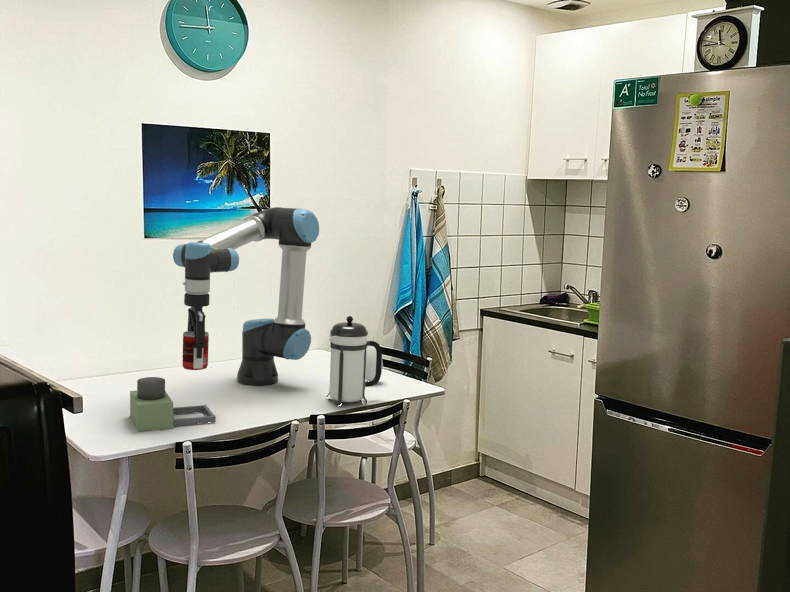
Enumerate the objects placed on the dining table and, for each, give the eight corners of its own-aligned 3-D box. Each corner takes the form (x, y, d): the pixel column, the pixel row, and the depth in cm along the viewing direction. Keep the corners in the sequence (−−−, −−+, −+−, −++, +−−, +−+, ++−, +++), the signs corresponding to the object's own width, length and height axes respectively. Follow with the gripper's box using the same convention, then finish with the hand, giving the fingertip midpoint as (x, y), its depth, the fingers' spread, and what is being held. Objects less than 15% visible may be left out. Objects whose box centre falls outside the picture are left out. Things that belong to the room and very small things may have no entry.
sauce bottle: (381, 385, 289) (383, 338, 286) (360, 384, 289) (362, 337, 286) (382, 380, 296) (384, 334, 294) (362, 379, 297) (364, 333, 294)
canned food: (210, 365, 245) (210, 331, 243) (205, 370, 237) (205, 335, 235) (185, 364, 244) (186, 329, 243) (179, 369, 236) (180, 334, 235)
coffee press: (359, 411, 255) (363, 322, 251) (316, 404, 261) (319, 316, 257) (380, 399, 271) (384, 314, 267) (340, 392, 277) (343, 310, 273)
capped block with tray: (204, 409, 249) (205, 370, 247) (216, 424, 235) (217, 382, 233) (130, 416, 239) (130, 375, 237) (137, 431, 225) (137, 388, 223)
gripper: (178, 288, 245) (176, 358, 248) (191, 297, 227) (189, 373, 230) (202, 288, 248) (200, 357, 251) (216, 297, 230) (214, 372, 233)
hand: (195, 365), depth 240 cm, fingers closed on canned food, 8 cm apart
